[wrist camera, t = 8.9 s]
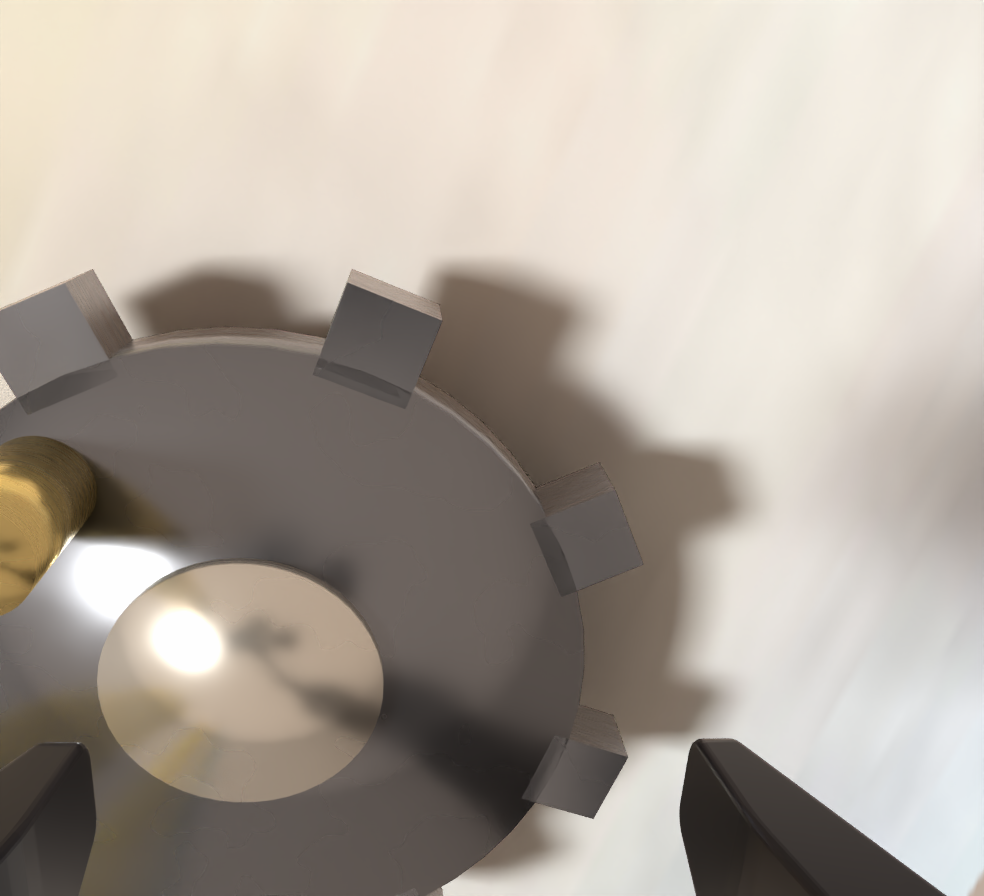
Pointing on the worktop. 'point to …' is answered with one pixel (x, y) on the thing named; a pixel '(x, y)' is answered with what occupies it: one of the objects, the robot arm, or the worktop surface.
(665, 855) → the worktop surface
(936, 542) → the worktop surface
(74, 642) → the sprocket
